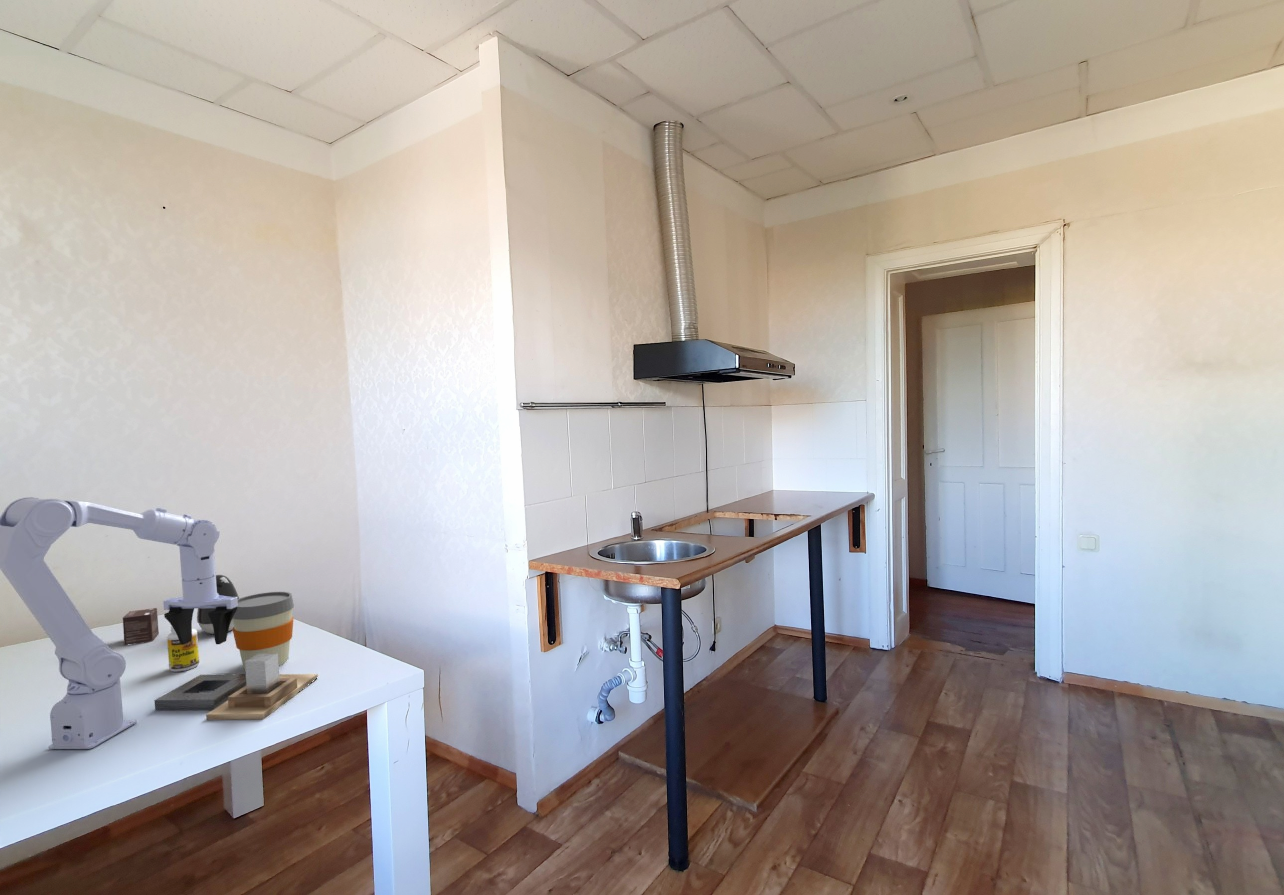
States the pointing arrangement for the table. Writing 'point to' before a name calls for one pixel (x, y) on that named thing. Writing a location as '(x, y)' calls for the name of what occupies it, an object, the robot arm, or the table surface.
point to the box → (140, 626)
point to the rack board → (261, 699)
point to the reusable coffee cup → (264, 625)
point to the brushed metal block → (262, 673)
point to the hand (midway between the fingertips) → (203, 642)
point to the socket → (194, 700)
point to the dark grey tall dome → (203, 619)
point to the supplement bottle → (182, 652)
